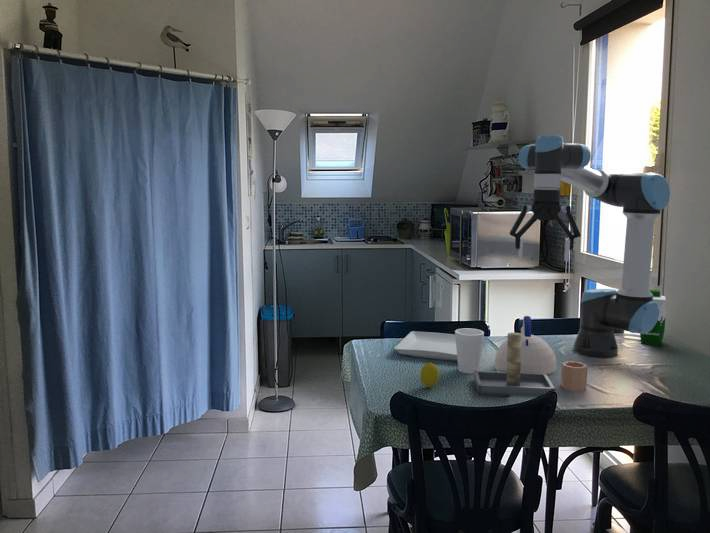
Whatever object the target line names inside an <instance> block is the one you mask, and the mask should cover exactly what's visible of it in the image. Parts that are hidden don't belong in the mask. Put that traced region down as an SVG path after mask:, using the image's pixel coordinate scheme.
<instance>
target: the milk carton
mask: <svg viewBox="0 0 710 533" xmlns="http://www.w3.org/2000/svg"><path fill="white" fill-rule="evenodd" d="M649 291H650V292H651V293H652V294H653V301H654V302H656V303H657V304H658V307H659V311H660V312H659V317H658V320H657V323H656V324H655V326H654V327H653V329H652V330H651V331H649V332H648V333H645V334H640V335H639V336H640V344H641V345H643V344H644V345H653V346H662V345H663V344H662V342H663V338H664V335H665V328H666V316H667V299H666V296H665V295H661V291H660V290H658V289H649Z"/></svg>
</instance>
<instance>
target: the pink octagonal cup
mask: <svg viewBox="0 0 710 533" xmlns="http://www.w3.org/2000/svg"><path fill="white" fill-rule="evenodd" d="M588 367H589V366H588V365H587V364H586V363H583V362H580V361H575V360H566V361H564V362H561V370H560V371H561V372H560V386H561V388H562V389H564V390H567V391H571V392H583V391H585V390H587V386H588V385H587V382H588Z"/></svg>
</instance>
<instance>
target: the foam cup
mask: <svg viewBox="0 0 710 533" xmlns="http://www.w3.org/2000/svg"><path fill="white" fill-rule="evenodd" d="M454 335H455V339H456V349H457V360H458V361H457V366H458V367H457V368H458V371H459V372H460V373H464V374H474V371H479V366H480V361H481V360H480V359H481V355H482V349H483V343H484V341H485V340H484V339H485V338H484V337H485V331H483V330H481V329H477V328H470V327H469V328H466V327H465V328H457V329H456V330H454Z"/></svg>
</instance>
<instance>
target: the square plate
mask: <svg viewBox="0 0 710 533" xmlns="http://www.w3.org/2000/svg"><path fill="white" fill-rule="evenodd" d="M393 349H394V350H395V351H396V352H397V353H399V354H401V355H404V356H410V357H415V358H422V357H423V358H425V359H433V360H441V361H443V360H444V361H453V362H456V361H457V362H458V360H457V349H456V339H455V334H452V333H443V332H441V333H440V332H430V331H429V332H428V331H415V330H413V331H410V332H409V333H408V334H407V335H406V336H404V338H403V339H401V341H400V342H399V343H398V344H396V345H395V346H394V347H393ZM423 358H422V359H423Z"/></svg>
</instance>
